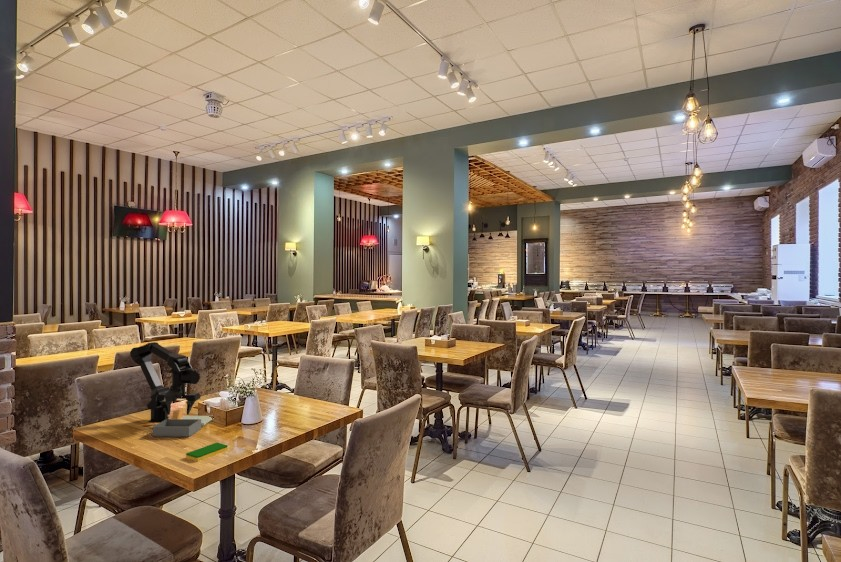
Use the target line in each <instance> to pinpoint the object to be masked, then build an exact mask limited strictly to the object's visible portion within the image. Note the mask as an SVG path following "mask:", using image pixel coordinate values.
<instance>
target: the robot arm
mask: <svg viewBox="0 0 841 562" xmlns="http://www.w3.org/2000/svg"><path fill="white" fill-rule="evenodd" d="M152 354H153V355H155V356H157V357H158V358H160V359H161V360H163V361H165V362H166V365H167V366H168V367H169V368H170V370H169V371H168V373H169V374H171V385H169V386H170V387H169V386H166V387H165V386H164V385H163V384H162V382H161V379H160V378H159V376H158V374H157V371H156V369H155V368H154V367H155V366H154V365H153V362H152V361H151V360H152V357H153V356H152ZM129 355H130V357H131V359H132V361H133V362H134V363H136V364H137V365H138V366H140V367H139V368H141V369H140V370H141V371H142V373H143V375H144V377H145V379H146V382H147V385H148V386H149V388H150V391H151V393H150V401H149V402H148V403H147V405H146V407H147V409H148V410H150V419H149V420H148V422H150V423H154V422H155V423H161V422H162V421H164V420H166V419H170V417H169V415H170V414H171V407H172V403H173V402H176V401H177V400H179V399H180V400H181V399H182V400H186V402H185V403H186V416H190V413H191V411H192V408H193V407H194V404H195V402H196V401H198V400H200V399H201V393H200V392H191V393H189V394H188V393H187V391H186V387H187V386H188V385H187V384H189V385H196V384H198V382H199V381H200V379H201V378H200V377H201V376H200V374H199V372H198V371H197V369H193V367H192V364H191V363H190V361H189V359H188V357H187V356H186V355H183V354H181V353H175V352H173V351H171V350H169V349H167V348H165V347H164V346H162V345H161V344H159V342H157V341H153V342H147V343H146V344H143V345H140V346H136V347H135V346H134V347H132V349H131V350H130V353H129Z"/></svg>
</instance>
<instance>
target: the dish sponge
mask: <svg viewBox="0 0 841 562" xmlns="http://www.w3.org/2000/svg"><path fill="white" fill-rule="evenodd" d="M228 446H229V445H228V444H223V443H220V442H214V443H212V444H209V445H207V446H206V445H205V446H202V447H200V448H198V449H195V450H192V451H189V452H186V453H185V458H186V460H189V461H192V460H193V462H195V461H199V462H201V461H204V460H206V459H209V458H212V457H213V456H216V454H217V455H219V454H222V453H224V452H227V451H229V447H228ZM211 456H212V457H211ZM203 459H204V460H203ZM200 460H201V461H200Z"/></svg>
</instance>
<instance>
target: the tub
mask: <svg viewBox="0 0 841 562" xmlns="http://www.w3.org/2000/svg"><path fill="white" fill-rule="evenodd" d="M200 430H202V426H201V419H173V418H168V419H166V420H164V421H162V422H158V423H157V424H155V425H153V426H152V438H190V437H192V436H193V435H195V434H196V433H198V432H199V431H200Z"/></svg>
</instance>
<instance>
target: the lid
mask: <svg viewBox="0 0 841 562" xmlns="http://www.w3.org/2000/svg"><path fill="white" fill-rule="evenodd" d="M209 416H210V415H184V414H183V407H182V408H176V409H175V410H173V411H172V419H201V427H204V426H205V425H207V424H208V423H210V422H212V421H213V419H212V418H211V417H209Z"/></svg>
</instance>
